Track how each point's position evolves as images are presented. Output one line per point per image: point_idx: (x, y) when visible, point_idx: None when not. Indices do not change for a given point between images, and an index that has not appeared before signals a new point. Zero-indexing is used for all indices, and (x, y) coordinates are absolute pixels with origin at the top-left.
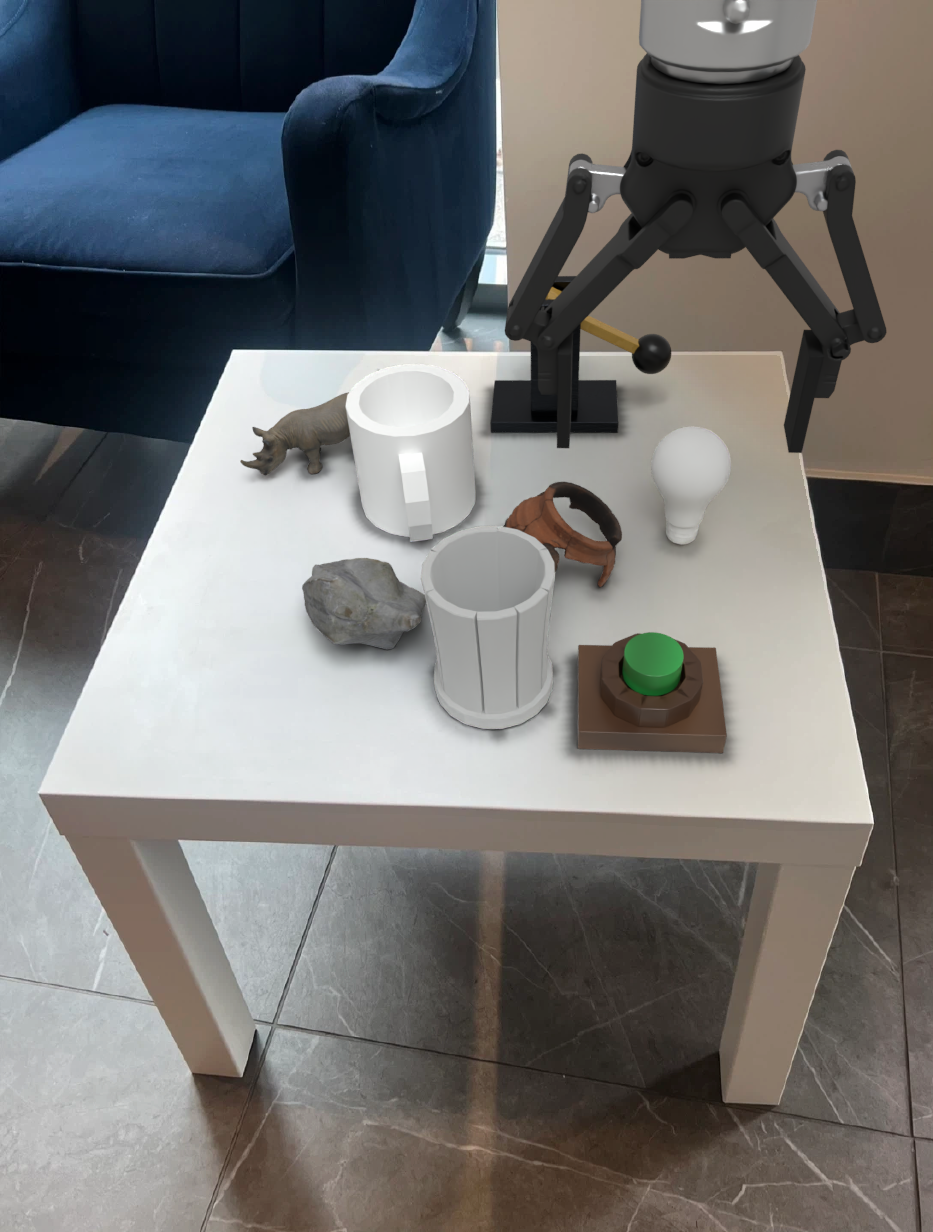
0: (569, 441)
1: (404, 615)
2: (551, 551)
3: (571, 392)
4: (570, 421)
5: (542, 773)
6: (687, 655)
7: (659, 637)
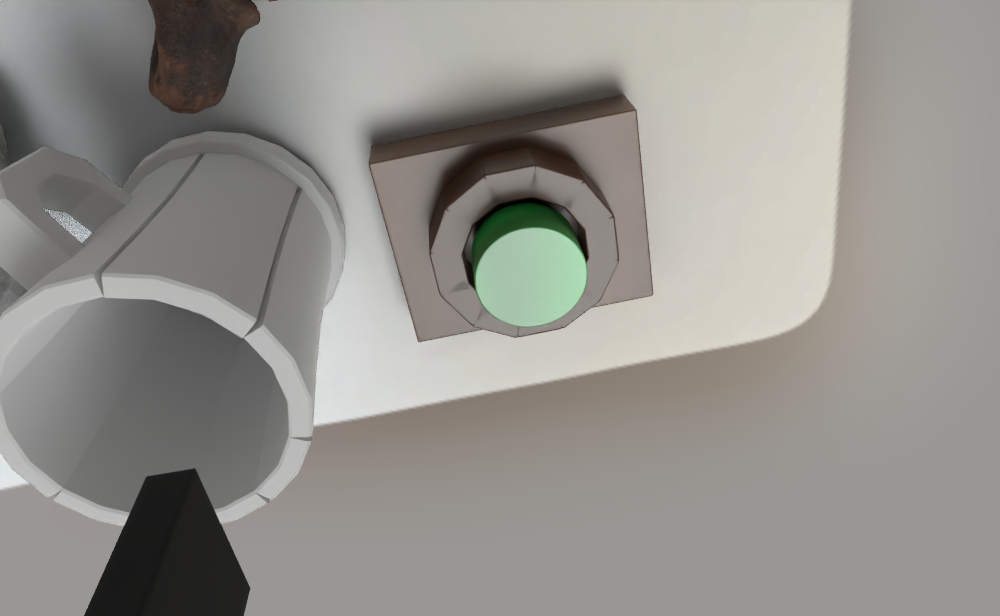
0: (242, 596)
1: (2, 312)
2: (230, 6)
3: (155, 596)
4: (207, 559)
5: (376, 366)
6: (589, 208)
7: (537, 237)
